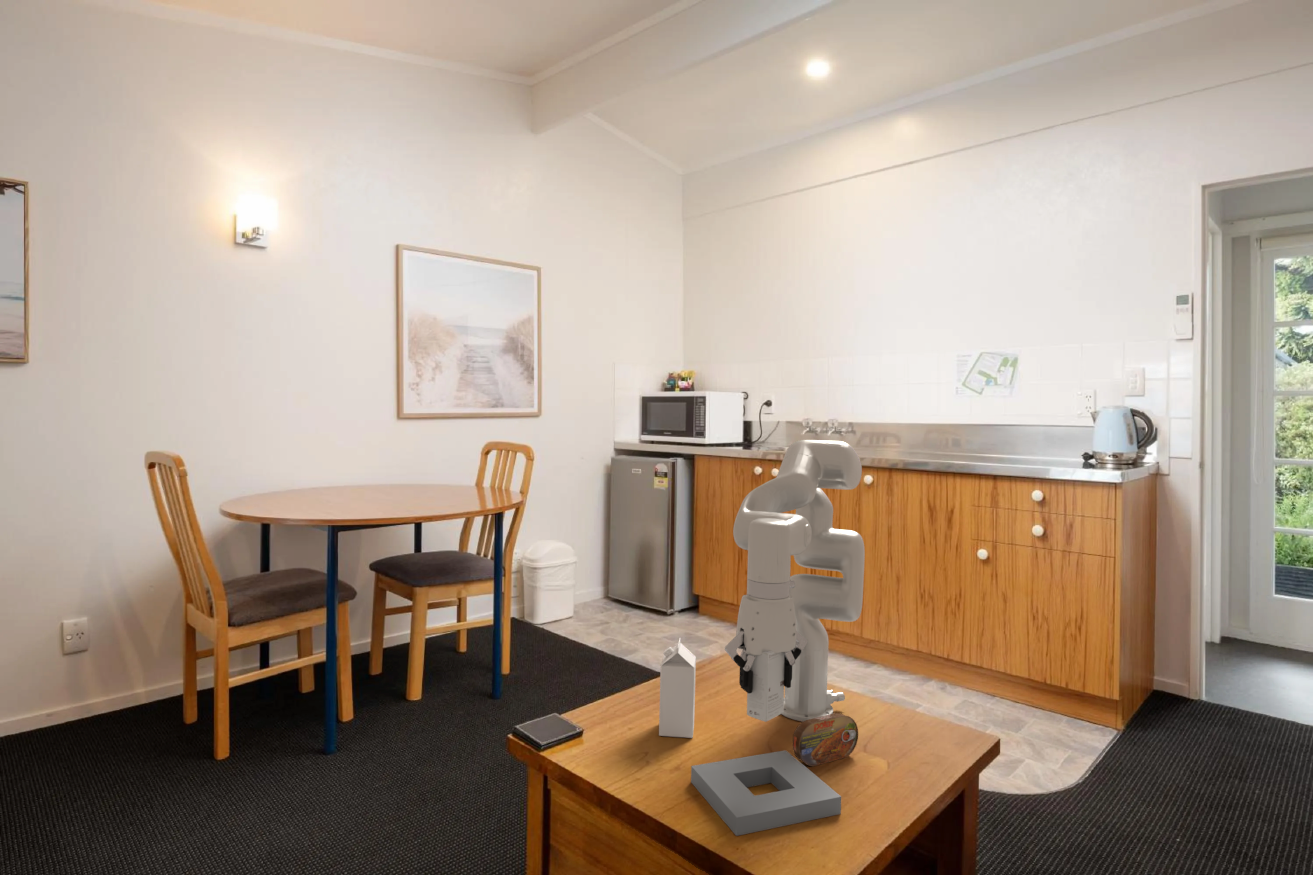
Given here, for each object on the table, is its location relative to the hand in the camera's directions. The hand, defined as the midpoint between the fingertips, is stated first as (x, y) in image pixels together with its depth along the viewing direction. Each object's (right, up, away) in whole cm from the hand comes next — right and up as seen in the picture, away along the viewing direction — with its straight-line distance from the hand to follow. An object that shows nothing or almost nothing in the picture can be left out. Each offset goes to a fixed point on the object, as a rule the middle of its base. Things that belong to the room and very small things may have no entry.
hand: (765, 686), depth 129 cm
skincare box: (0, -5, 0) cm, 5 cm away
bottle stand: (-1, -19, 0) cm, 19 cm away
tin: (+14, -20, +15) cm, 28 cm away
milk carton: (-15, -18, +26) cm, 35 cm away
